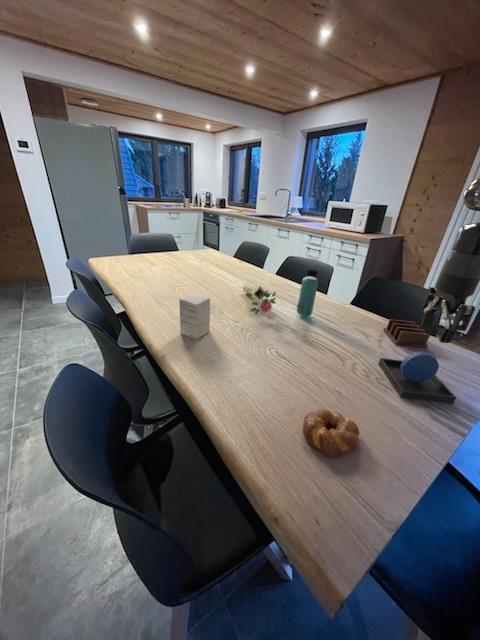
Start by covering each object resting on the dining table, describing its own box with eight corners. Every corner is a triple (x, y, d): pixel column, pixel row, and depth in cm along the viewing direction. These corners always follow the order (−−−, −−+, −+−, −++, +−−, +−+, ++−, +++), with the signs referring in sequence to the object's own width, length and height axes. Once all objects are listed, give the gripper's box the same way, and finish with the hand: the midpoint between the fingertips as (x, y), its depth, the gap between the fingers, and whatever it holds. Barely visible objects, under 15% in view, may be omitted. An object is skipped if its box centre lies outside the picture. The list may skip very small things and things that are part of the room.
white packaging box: (193, 325, 95) (193, 292, 90) (210, 331, 92) (211, 297, 86) (179, 333, 89) (178, 298, 84) (196, 340, 86) (196, 304, 81)
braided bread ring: (342, 414, 61) (346, 401, 60) (370, 456, 52) (376, 443, 50) (293, 417, 59) (296, 404, 58) (312, 461, 50) (316, 448, 48)
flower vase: (253, 308, 133) (280, 325, 100) (230, 301, 129) (251, 317, 96) (261, 286, 131) (291, 296, 98) (238, 278, 127) (261, 286, 94)
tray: (421, 368, 81) (424, 363, 80) (453, 403, 67) (456, 397, 66) (378, 363, 82) (380, 358, 81) (400, 397, 68) (403, 391, 67)
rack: (411, 333, 103) (416, 321, 101) (427, 348, 93) (432, 335, 91) (383, 330, 104) (387, 318, 101) (395, 344, 94) (400, 331, 91)
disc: (427, 380, 75) (441, 354, 71) (430, 384, 73) (444, 357, 69) (395, 376, 75) (407, 349, 71) (397, 379, 74) (410, 352, 70)
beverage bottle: (313, 315, 111) (323, 269, 103) (308, 321, 106) (318, 272, 97) (298, 311, 114) (307, 266, 105) (293, 316, 109) (301, 269, 100)
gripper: (503, 283, 54) (467, 350, 61) (458, 266, 67) (433, 323, 74) (465, 279, 55) (434, 346, 62) (427, 263, 67) (405, 320, 74)
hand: (433, 333), depth 68 cm, fingers open, 8 cm apart
